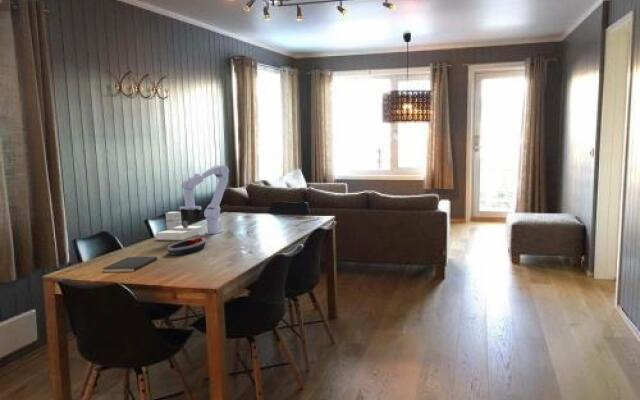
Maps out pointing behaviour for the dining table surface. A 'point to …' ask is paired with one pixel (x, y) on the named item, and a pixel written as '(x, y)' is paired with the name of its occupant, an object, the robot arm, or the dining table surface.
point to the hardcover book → (129, 264)
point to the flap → (185, 226)
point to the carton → (177, 234)
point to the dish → (186, 246)
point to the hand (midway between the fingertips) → (191, 221)
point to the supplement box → (173, 220)
